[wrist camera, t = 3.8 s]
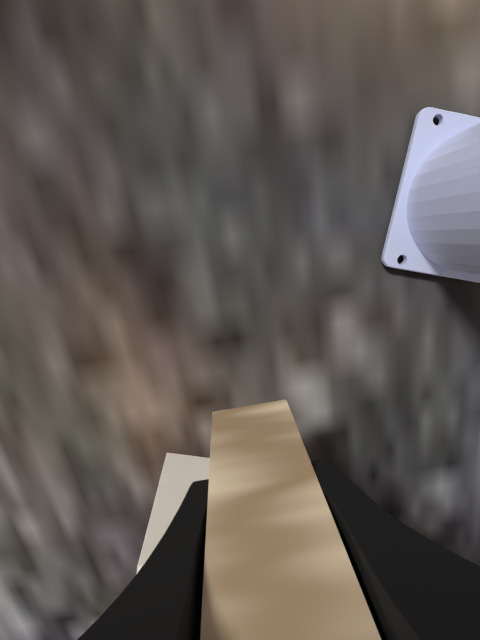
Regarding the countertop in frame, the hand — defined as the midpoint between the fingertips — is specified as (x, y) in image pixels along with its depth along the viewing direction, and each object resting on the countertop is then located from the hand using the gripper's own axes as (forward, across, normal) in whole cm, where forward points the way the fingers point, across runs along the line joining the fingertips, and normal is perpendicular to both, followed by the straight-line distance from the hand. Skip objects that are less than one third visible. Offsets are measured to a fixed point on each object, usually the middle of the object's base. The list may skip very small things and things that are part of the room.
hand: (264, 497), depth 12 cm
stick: (+4, 0, 0) cm, 4 cm away
